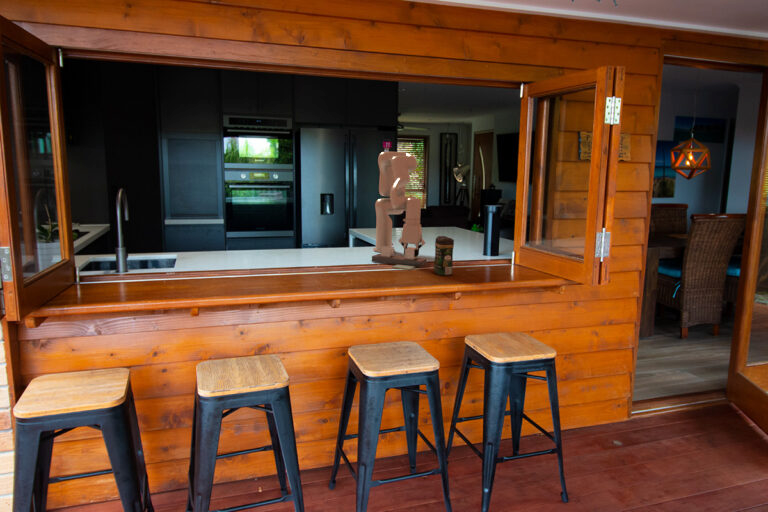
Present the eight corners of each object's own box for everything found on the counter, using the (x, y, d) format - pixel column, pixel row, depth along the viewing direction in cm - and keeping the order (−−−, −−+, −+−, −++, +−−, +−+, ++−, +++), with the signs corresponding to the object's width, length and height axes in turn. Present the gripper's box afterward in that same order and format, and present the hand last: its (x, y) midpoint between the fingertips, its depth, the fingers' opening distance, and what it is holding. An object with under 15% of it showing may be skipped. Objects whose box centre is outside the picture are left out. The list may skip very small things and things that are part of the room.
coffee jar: (431, 272, 259) (433, 235, 256) (446, 271, 262) (447, 234, 258) (439, 276, 250) (441, 238, 247) (454, 275, 252) (456, 237, 249)
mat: (397, 265, 272) (397, 264, 272) (415, 267, 268) (415, 266, 268) (391, 267, 266) (392, 266, 266) (410, 270, 262) (410, 269, 262)
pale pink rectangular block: (408, 261, 280) (408, 246, 279) (417, 262, 278) (417, 247, 277) (404, 263, 276) (405, 248, 274) (413, 264, 274) (414, 249, 272)
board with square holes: (378, 259, 289) (379, 253, 289) (426, 264, 278) (426, 258, 277) (371, 261, 281) (371, 256, 281) (420, 267, 270) (420, 261, 269)
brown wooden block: (384, 260, 286) (385, 246, 284) (393, 261, 284) (393, 247, 282) (380, 262, 281) (381, 247, 280) (389, 263, 279) (389, 248, 278)
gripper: (394, 221, 273) (393, 255, 276) (425, 223, 266) (423, 258, 269) (400, 219, 280) (399, 253, 283) (430, 222, 273) (428, 256, 276)
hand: (411, 255), depth 276 cm, fingers closed on pale pink rectangular block, 5 cm apart
